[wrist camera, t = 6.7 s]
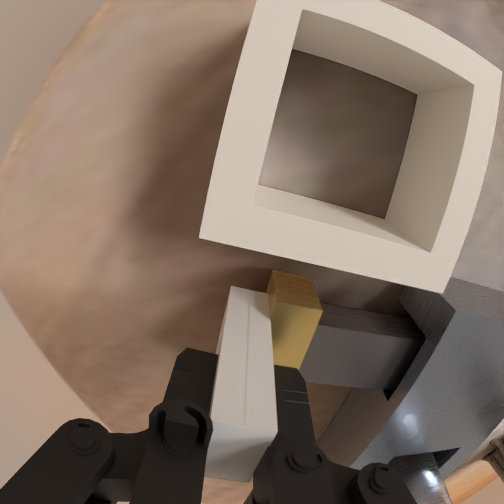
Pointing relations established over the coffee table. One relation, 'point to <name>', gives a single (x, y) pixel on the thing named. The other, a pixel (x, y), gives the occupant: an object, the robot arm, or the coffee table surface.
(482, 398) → the socket
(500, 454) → the wizard figurine
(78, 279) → the coffee table surface
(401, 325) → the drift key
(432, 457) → the metal cylinder
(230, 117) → the frame
